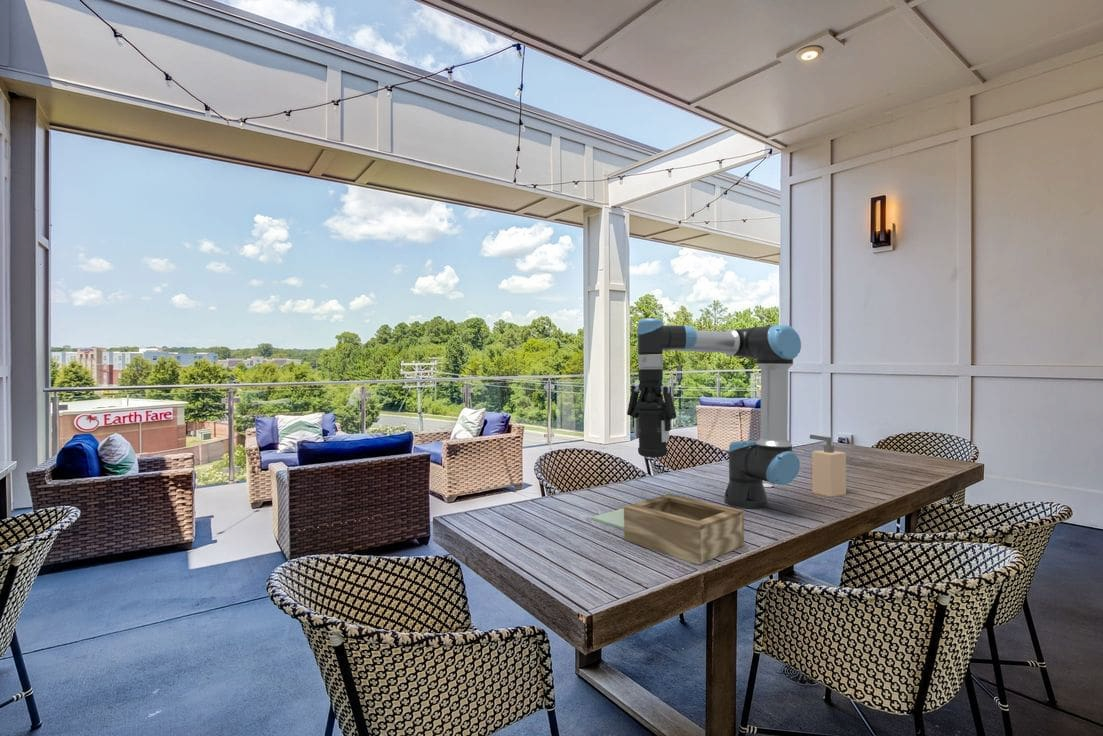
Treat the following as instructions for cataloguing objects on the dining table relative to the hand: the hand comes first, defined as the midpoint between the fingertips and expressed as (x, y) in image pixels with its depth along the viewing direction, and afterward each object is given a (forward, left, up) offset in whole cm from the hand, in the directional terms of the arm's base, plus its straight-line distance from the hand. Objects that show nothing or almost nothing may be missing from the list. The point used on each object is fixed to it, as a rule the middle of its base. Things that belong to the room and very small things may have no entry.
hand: (651, 439), depth 167 cm
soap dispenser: (-88, +15, -29) cm, 94 cm away
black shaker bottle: (0, 0, -5) cm, 5 cm away
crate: (+2, +13, -28) cm, 31 cm away
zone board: (-2, -13, -28) cm, 31 cm away
